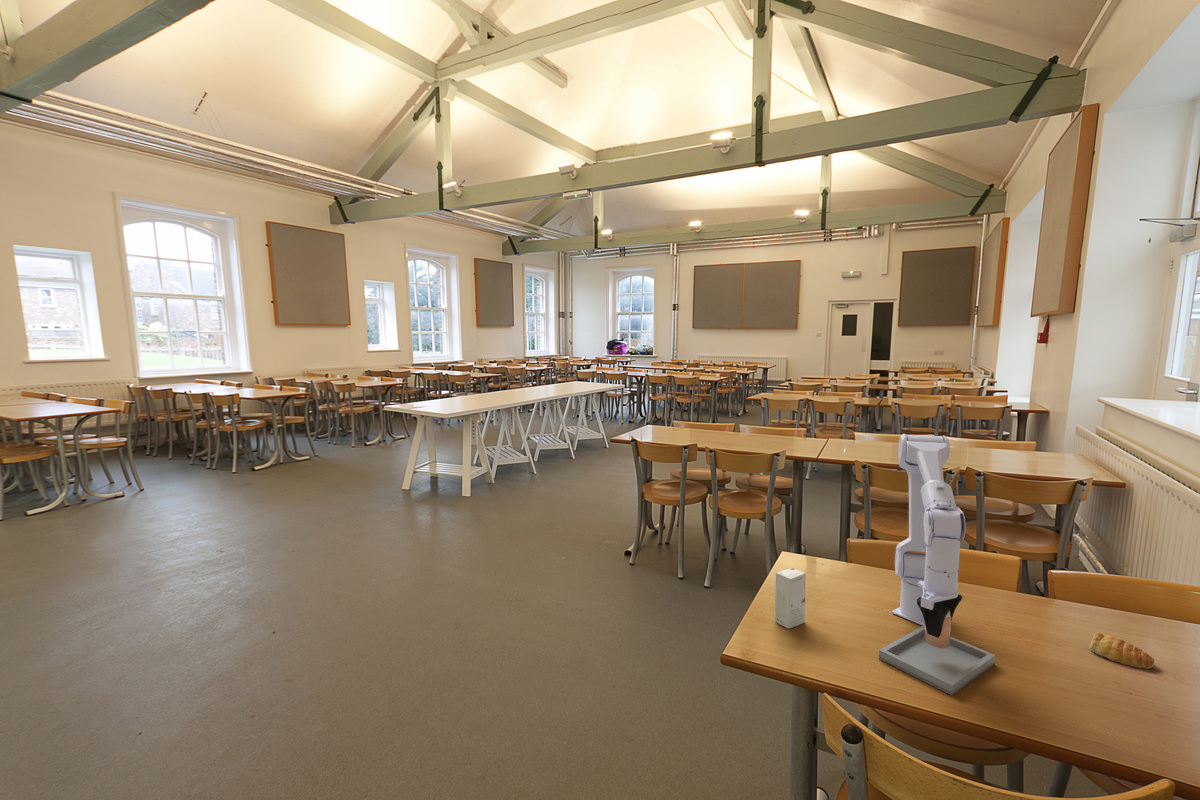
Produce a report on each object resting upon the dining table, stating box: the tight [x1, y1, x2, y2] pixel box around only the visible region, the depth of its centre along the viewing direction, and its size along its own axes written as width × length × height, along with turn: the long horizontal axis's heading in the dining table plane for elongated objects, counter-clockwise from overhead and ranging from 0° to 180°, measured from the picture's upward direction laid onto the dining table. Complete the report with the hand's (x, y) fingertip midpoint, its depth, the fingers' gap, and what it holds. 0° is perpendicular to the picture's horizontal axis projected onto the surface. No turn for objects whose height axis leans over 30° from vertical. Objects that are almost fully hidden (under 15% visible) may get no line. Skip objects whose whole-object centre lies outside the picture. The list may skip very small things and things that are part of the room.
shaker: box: [924, 611, 952, 648], centre depth 109 cm, size 4×4×7 cm
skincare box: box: [774, 567, 806, 629], centre depth 125 cm, size 6×4×12 cm
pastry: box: [1088, 632, 1155, 670], centre depth 110 cm, size 9×7×4 cm
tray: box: [878, 625, 996, 696], centre depth 109 cm, size 18×14×2 cm
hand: (937, 631), depth 109 cm, fingers closed on shaker, 4 cm apart
